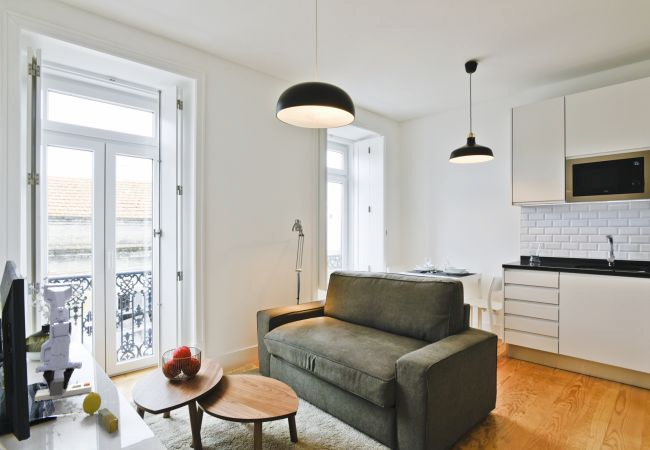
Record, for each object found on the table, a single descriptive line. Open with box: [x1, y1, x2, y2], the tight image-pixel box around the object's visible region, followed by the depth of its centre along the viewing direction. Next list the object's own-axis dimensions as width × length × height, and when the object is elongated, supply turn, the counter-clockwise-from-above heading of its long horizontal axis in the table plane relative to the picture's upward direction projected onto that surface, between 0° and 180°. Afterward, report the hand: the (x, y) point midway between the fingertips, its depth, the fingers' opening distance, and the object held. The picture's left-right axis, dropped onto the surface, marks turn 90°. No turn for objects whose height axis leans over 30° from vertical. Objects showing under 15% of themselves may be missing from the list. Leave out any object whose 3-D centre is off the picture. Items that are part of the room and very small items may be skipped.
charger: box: [50, 378, 67, 401], centre depth 137 cm, size 5×4×7 cm
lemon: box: [82, 391, 102, 416], centre depth 127 cm, size 6×6×8 cm
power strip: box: [34, 380, 92, 402], centre depth 144 cm, size 7×18×4 cm, turn 122°
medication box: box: [97, 407, 119, 434], centre depth 120 cm, size 12×3×4 cm, turn 49°
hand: (58, 389), depth 137 cm, fingers closed on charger, 4 cm apart
